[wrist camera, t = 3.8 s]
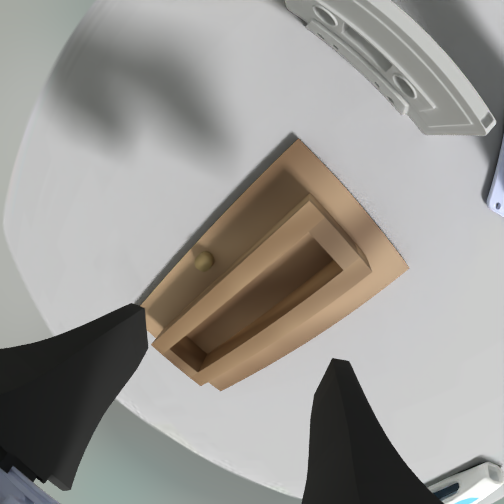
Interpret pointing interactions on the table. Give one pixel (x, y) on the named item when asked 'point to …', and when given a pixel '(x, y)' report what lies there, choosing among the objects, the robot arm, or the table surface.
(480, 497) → the white step stool
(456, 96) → the cassette
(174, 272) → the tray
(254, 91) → the table surface
